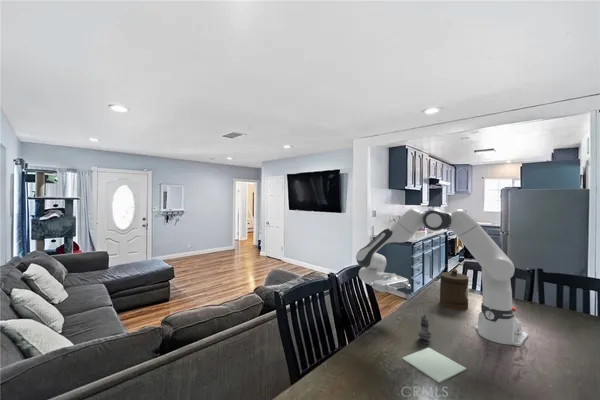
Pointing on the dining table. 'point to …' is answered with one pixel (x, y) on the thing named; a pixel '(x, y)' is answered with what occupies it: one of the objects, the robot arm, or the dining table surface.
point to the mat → (434, 364)
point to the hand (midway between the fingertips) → (403, 288)
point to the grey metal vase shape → (424, 331)
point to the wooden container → (454, 290)
